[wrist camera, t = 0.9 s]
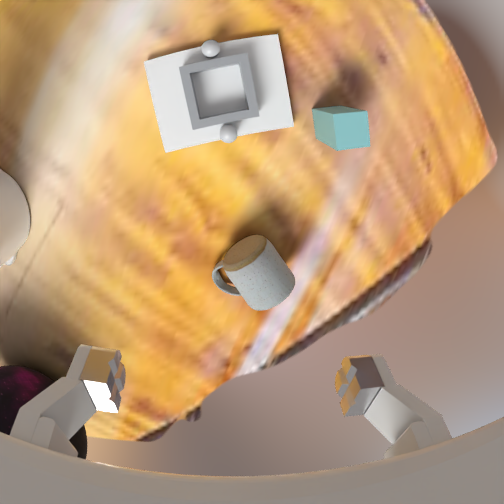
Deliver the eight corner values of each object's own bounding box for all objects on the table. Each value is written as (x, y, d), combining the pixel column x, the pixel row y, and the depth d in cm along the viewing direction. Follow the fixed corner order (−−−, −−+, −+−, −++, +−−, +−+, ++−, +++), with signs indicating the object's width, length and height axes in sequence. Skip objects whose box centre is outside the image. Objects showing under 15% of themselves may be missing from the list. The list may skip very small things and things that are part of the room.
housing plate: (167, 152, 38) (162, 158, 34) (145, 60, 31) (138, 58, 28) (292, 126, 37) (298, 130, 34) (275, 34, 31) (281, 29, 28)
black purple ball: (-27, 331, 49) (-79, 428, 23) (69, 341, 52) (23, 478, 26) (25, 408, 64) (-1, 493, 38) (114, 422, 66) (99, 525, 40)
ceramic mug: (262, 222, 44) (268, 250, 37) (290, 264, 47) (301, 295, 41) (200, 260, 46) (196, 292, 39) (232, 297, 50) (233, 331, 43)
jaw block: (315, 138, 38) (336, 150, 32) (311, 108, 37) (332, 114, 30) (344, 134, 38) (370, 146, 32) (341, 105, 36) (367, 111, 30)
